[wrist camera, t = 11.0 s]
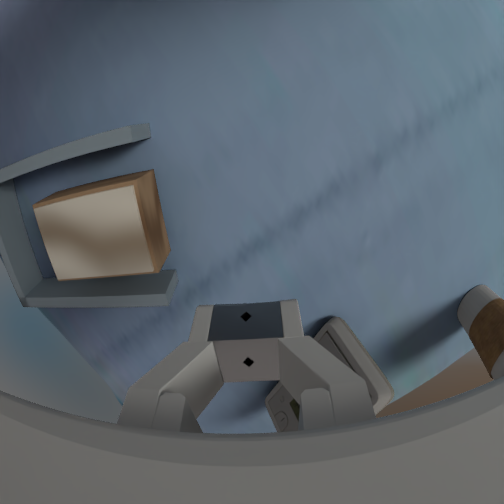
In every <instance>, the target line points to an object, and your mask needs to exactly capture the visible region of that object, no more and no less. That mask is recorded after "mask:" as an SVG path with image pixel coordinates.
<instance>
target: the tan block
mask: <svg viewBox="0 0 504 504" xmlns="http://www.w3.org/2000/svg"><path fill="white" fill-rule="evenodd" d="M33 209H34V213H35V216H36V219H37V223H38V226H39V229H40V232H41V235H42V239H43V241H44V244H45V247H46V250H47V253H48V256H49V258H50V261H51V264H52V266H53V269H54V272H55V274H56V277H57V279H58V281H66V280H79V279H91V278H104V277H116V276H128V275H139V274H151V273H159V272H160V270H161V268H162V266H163V264H164V262H165V260H166V258H167V256H168V255H169V253H170V251H171V249H170V245H169V241H168V237H167V232H166V228H165V223H164V219H163V214H162V209H161V205H160V200H159V195H158V190H157V185H156V179H155V174H154V169H152V170H147V171H142V172H137V173H132V174H127V175H122V176H118V177H113V178H109V179H105V180H100V181H96V182H92V183H88V184H84V185H80V186H76V187H73V188H69V189H65V190H62V191H58V192H55V193H54V194H52V195H50V196H48V197H46V198H44V199H42V200H41V201H39V202H37V203H35V204H33Z"/></svg>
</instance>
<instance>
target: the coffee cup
mask: <svg viewBox="0 0 504 504" xmlns="http://www.w3.org/2000/svg"><path fill="white" fill-rule="evenodd" d="M457 317H458V320H459V321H460V323H461V325H462V326H463V328H464V329H465V331H466V332H467V334H468V336H469V338H470V340H471V341H472V343H473V345H474V347H475V348H476V350H477V352H478V354H479V356H480V358H481V359H482V361H483V363H484V365H485V367H486V369H487V371H488V373H489V375H490V377H491V378H492V379H494V380H496V379H498V378H500V377H502V376H504V300H503V299H502V298H500V297H499V296H498V295H497V294H496V293H494V292H493V291H492V290H491V289H490V288H488V287H487V286H485V285H479V286H476V287H474V288H473V289H471V290H470V291H469V292H468V293H467V294H466V295H465V297H464V298H463V299H462V301H461V303H460V305H459V307H458V311H457Z"/></svg>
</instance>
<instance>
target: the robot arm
mask: <svg viewBox="0 0 504 504" xmlns="http://www.w3.org/2000/svg"><path fill="white" fill-rule="evenodd" d="M270 380H280V382H281V383H282V384H283V386H284V387H285V388H286V389H287V391H288V392H289V393H290V394H291V395H292V397H293V398H294V399H295V400H296V401H297V403H298V404H299V405H300V412H299V425H298V431H288V432H274V433H252V434H213V433H203V432H202V430H201V428H200V426H199V424H198V422H197V420H196V419H197V418H198V416H199V415H200V414H201V413H202V411H203V410H204V409H205V408H206V406H207V405H208V404H209V402H210V401H211V400H212V399H213V397H214V396H215V395H216V393H217V392H218V391H219V390H220V388H221V387H222V386H223V384H224V383H223V382H244V381H270ZM0 504H504V376H502V377H500V378H498V379H496V380H494V381H491V382H489V383H487V384H484V385H482V386H480V387H477V388H475V389H472V390H470V391H467V392H465V393H462V394H459V395H456V396H454V397H451V398H448V399H445V400H442V401H439V402H436V403H433V404H430V405H426V406H423V407H420V408H416V409H413V410H409V411H405V412H402V413H398V414H394V415H390V416H385V417H381V418H376V416H375V412H374V409H373V405H372V402H371V398H370V395H369V392H368V388H367V385H366V382H365V380H364V379H363V378H362V377H360V376H359V375H358V374H356V373H355V372H354V371H353V370H351V369H350V368H349V367H348V366H346V365H345V364H344V363H343V362H341V361H340V360H339V359H338V358H336V357H335V356H334V355H333V354H331V353H330V352H329V351H328V350H326V349H325V348H324V347H323V346H321V345H320V344H319V343H318V342H316V341H315V340H314V339H313V338H311V337H310V336H304V333H303V327H302V322H301V317H300V311H299V306H298V301H297V299H290V300H281V301H275V302H262V303H248V304H247V303H243V304H215V305H199V306H198V307H197V308H196V312H195V316H194V320H193V324H192V328H191V332H190V336H189V340H188V342H183V343H182V344H180V345H179V346H178V347H177V348H176V349H175V350H173V351H172V352H171V353H170V354H169V355H168V356H166V357H165V358H164V359H163V360H162V361H160V362H159V363H158V364H157V365H156V366H155V367H153V368H152V369H151V370H150V371H149V372H147V373H146V374H145V375H144V376H143V377H141V378H140V379H139V380H138V381H137V382H135V383H134V384H133V385H132V386H131V387H129V389H128V392H127V395H126V398H125V401H124V404H123V407H122V410H121V413H120V416H119V419H118V422H117V424H115V423H110V422H105V421H100V420H95V419H90V418H86V417H82V416H78V415H73V414H70V413H66V412H62V411H58V410H55V409H52V408H48V407H45V406H42V405H39V404H36V403H33V402H30V401H27V400H24V399H21V398H18V397H15V396H13V395H10V394H8V393H5V392H3V391H0Z"/></svg>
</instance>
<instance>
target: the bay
mask: <svg viewBox="0 0 504 504" xmlns="http://www.w3.org/2000/svg"><path fill="white" fill-rule="evenodd" d="M147 138H151V134H150V127H149V123H148V124H138V125H130V126H126V127H122V128H118V129H114V130H110V131H107V132H103V133H99V134H96V135H92V136H89V137H86V138H82V139H79V140H76V141H73V142H70V143H67V144H64V145H61V146H58V147H55V148H52V149H49V150H47V151H44V152H41V153H38V154H36V155H33V156H31V157H28V158H26V159H23V160H21V161H18V162H16V163H14V164H11V165H9V166H7V167H5V168H2V169H0V254H1V256H2V259H3V262H4V264H5V267H6V269H7V272H8V274H9V277H10V279H11V281H12V284H13V286H14V288H15V290H16V293H17V295H18V297H19V299H20V301H21V303H22V305H23V307H49V308H109V307H150V306H169V304H170V301H171V299H172V296H173V293H174V291H175V288H176V286H177V283H178V277H177V273H176V270H163V271H160V272H159V273H151V274H139V275H128V276H116V277H104V278H91V279H79V280H66V281H58V279H57V278H44V279H43V276H42V274H41V271H40V269H39V266H38V264H37V261H36V258H35V255H34V253H33V250H32V247H31V244H30V241H29V238H28V235H27V231H26V228H25V225H24V221H23V218H22V214H21V211H20V207H19V203H18V199H17V195H16V191H15V187H14V182H13V178H14V177H17V176H19V175H22V174H25V173H27V172H30V171H33V170H36V169H39V168H42V167H44V166H47V165H50V164H54V163H57V162H60V161H63V160H66V159H70V158H73V157H76V156H80V155H83V154H87V153H91V152H94V151H98V150H102V149H106V148H110V147H114V146H118V145H123V144H127V143H131V142H135V141H139V140H143V139H147Z"/></svg>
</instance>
